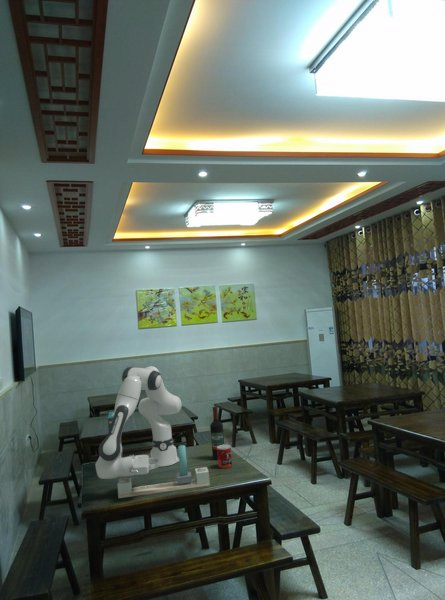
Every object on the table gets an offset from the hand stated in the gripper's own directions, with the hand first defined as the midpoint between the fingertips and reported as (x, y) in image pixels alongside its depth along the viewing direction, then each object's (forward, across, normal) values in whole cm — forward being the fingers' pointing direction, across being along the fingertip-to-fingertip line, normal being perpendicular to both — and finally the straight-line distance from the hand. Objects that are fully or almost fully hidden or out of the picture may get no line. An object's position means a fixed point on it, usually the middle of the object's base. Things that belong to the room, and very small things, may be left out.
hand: (158, 462), depth 223 cm
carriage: (+12, 0, +11) cm, 16 cm away
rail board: (+2, 0, +13) cm, 13 cm away
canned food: (+36, +22, +13) cm, 44 cm away
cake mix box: (-25, +54, +13) cm, 61 cm away
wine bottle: (+35, +39, +13) cm, 54 cm away
